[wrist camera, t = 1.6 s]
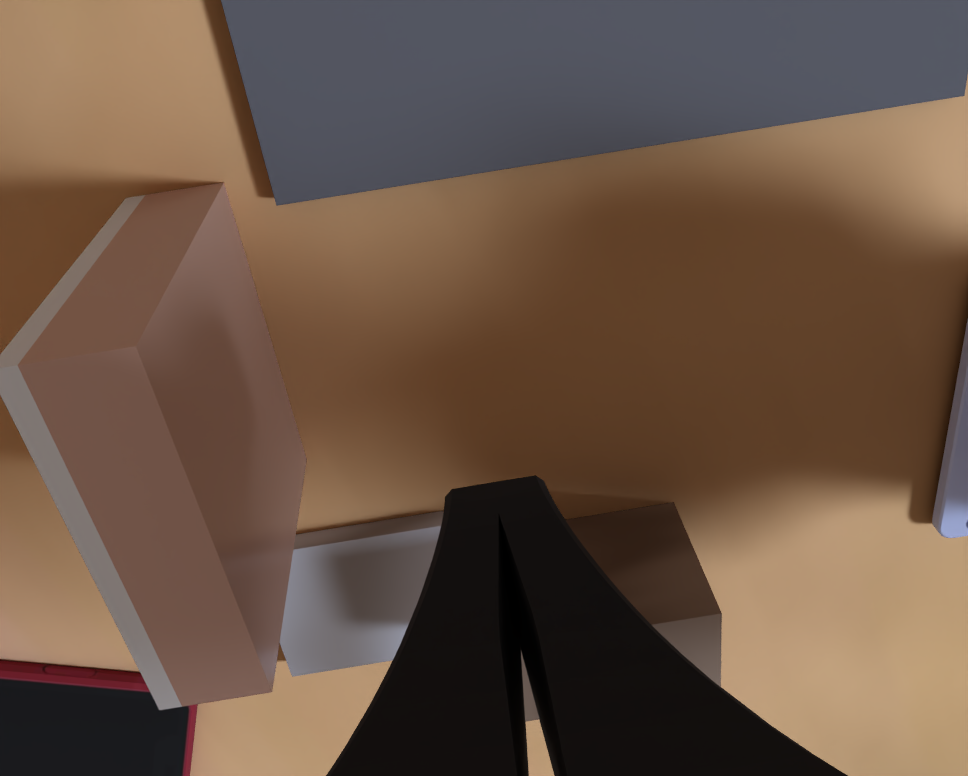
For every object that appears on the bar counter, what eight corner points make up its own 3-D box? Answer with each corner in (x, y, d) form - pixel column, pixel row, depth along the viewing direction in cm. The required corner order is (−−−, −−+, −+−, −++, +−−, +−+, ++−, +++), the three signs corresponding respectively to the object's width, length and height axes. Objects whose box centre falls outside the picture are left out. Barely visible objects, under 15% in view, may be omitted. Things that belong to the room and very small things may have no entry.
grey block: (672, 472, 22) (722, 582, 19) (675, 598, 25) (720, 715, 21) (251, 541, 22) (225, 663, 19) (294, 659, 25) (278, 786, 21)
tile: (223, 182, 18) (135, 346, 12) (306, 459, 21) (272, 692, 15) (126, 197, 18) (-13, 370, 12) (225, 472, 21) (159, 709, 15)
